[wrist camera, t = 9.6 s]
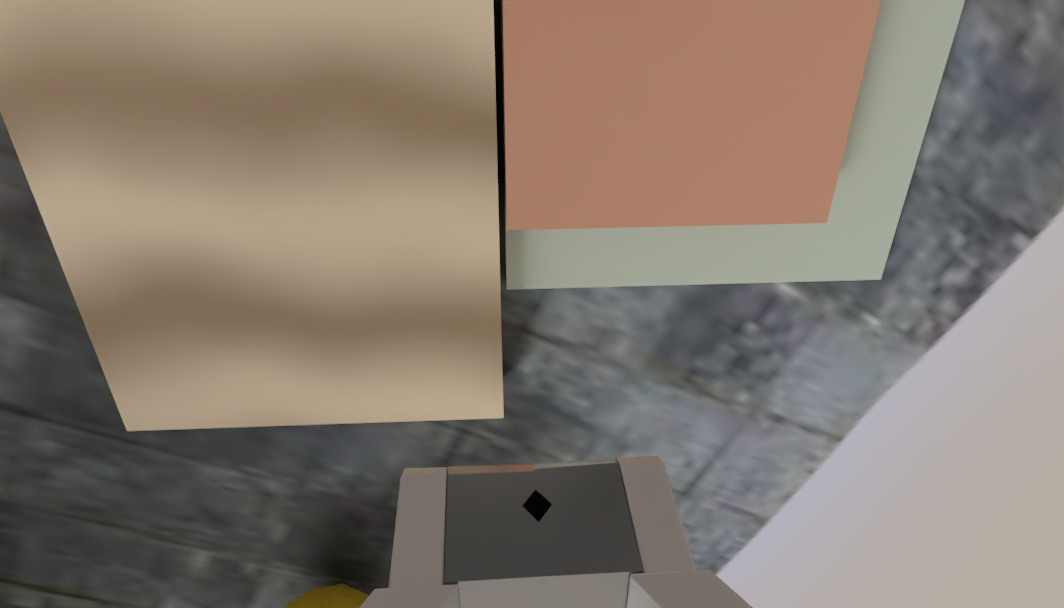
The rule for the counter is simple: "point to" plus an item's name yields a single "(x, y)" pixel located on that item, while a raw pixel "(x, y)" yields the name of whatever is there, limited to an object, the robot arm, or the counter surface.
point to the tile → (678, 110)
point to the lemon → (330, 598)
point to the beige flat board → (269, 202)
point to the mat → (781, 249)
